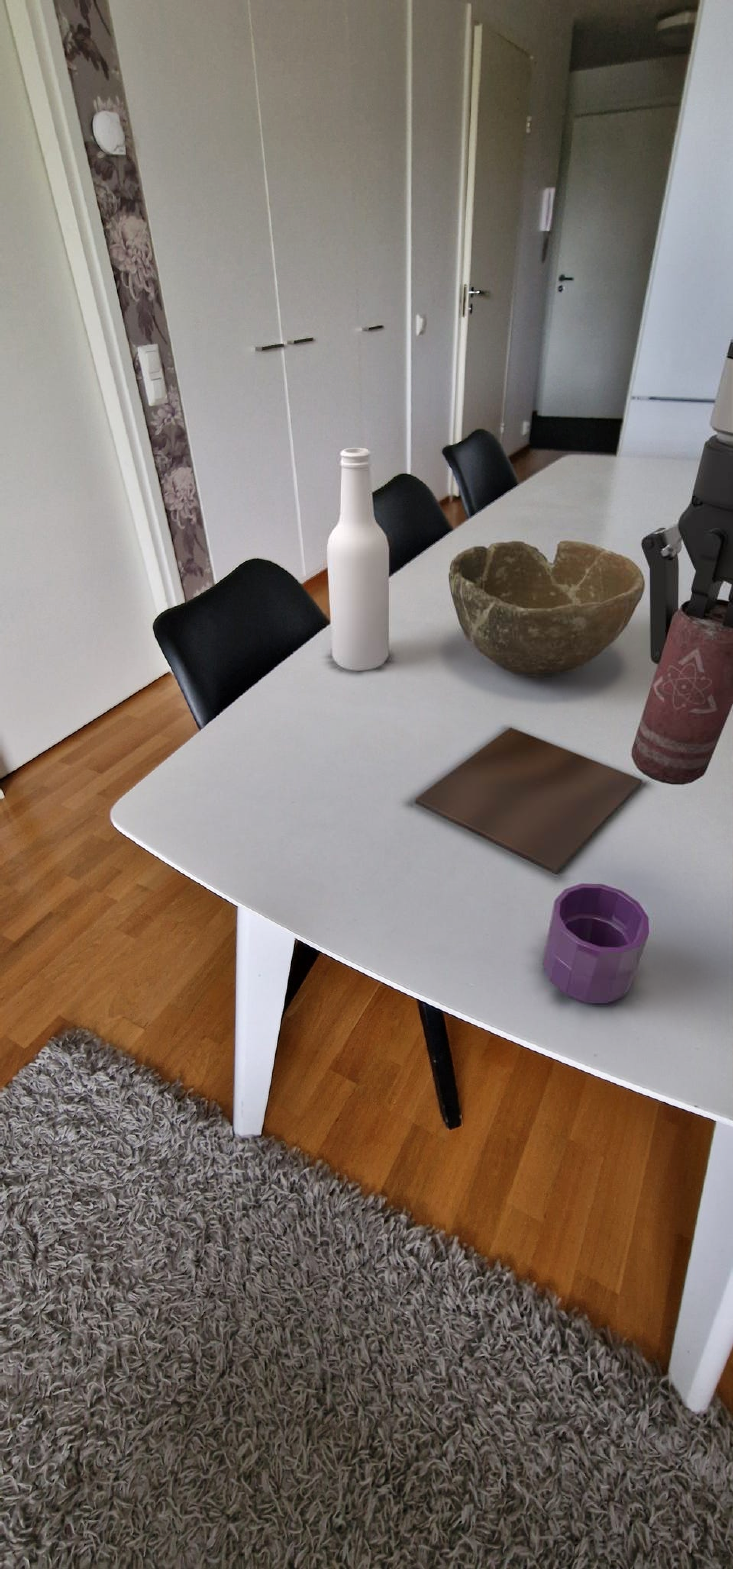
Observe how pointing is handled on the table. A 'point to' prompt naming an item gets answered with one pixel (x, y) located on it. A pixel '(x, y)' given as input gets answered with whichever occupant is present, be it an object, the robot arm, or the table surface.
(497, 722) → the table surface
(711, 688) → the can
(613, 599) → the bowl
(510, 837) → the placemat
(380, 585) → the alcohol
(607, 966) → the purple faceted cup
